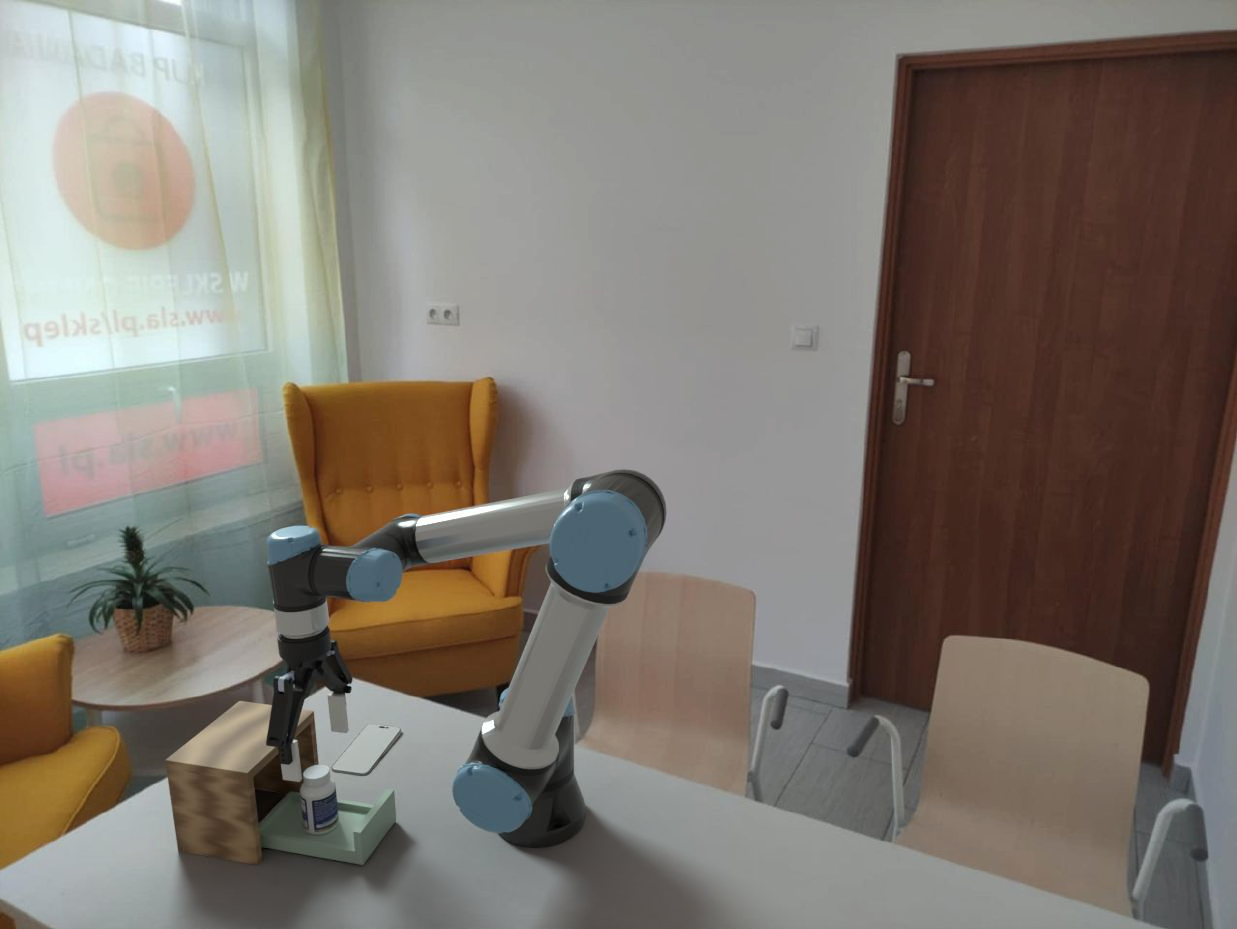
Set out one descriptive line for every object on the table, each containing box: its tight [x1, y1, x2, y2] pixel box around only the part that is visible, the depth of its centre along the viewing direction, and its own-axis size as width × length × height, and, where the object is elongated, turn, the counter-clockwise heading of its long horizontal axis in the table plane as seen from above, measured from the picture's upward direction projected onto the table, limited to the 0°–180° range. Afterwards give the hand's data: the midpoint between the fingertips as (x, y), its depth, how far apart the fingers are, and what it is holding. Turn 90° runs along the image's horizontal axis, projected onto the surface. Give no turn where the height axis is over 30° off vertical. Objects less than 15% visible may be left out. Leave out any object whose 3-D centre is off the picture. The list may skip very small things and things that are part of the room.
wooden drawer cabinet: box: [164, 700, 320, 866], centre depth 145 cm, size 14×18×16 cm
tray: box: [258, 788, 397, 866], centre depth 144 cm, size 19×11×6 cm, turn 77°
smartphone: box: [330, 723, 402, 776], centre depth 167 cm, size 7×1×15 cm
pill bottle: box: [300, 764, 339, 835], centre depth 143 cm, size 5×5×10 cm
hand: (317, 754), depth 141 cm, fingers open, 13 cm apart
